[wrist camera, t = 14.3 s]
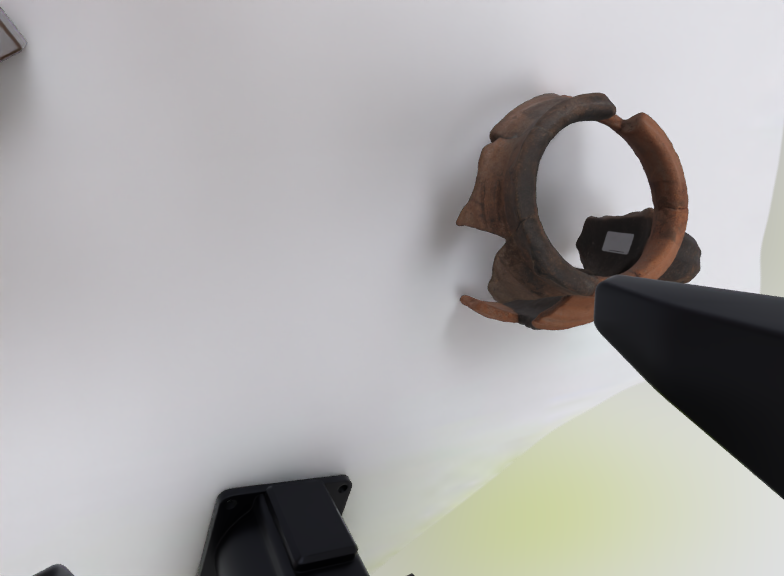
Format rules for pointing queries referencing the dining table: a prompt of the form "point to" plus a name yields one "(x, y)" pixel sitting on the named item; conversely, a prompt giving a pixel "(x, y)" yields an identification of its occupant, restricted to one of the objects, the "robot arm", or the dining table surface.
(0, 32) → the caddy
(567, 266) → the brown broken ring
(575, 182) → the dining table surface
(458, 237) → the dining table surface
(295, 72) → the dining table surface
